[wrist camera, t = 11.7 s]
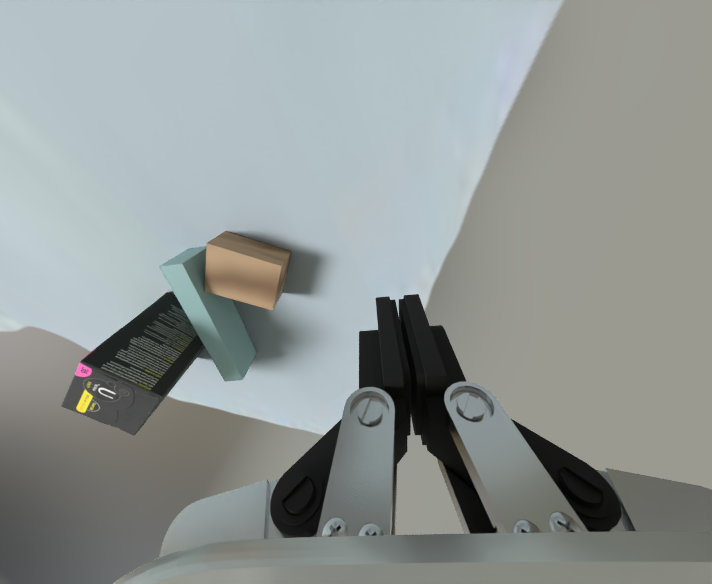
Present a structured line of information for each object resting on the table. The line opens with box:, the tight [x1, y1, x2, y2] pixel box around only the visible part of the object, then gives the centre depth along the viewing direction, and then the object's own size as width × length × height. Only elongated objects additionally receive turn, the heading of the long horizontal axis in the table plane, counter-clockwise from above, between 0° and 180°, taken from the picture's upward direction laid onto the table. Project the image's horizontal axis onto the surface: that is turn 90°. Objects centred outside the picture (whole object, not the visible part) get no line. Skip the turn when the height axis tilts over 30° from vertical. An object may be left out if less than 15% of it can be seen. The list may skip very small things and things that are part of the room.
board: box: [159, 246, 256, 381], centre depth 38 cm, size 20×3×6 cm, turn 8°
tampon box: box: [62, 292, 205, 435], centre depth 37 cm, size 11×9×15 cm
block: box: [205, 231, 291, 311], centre depth 35 cm, size 7×9×5 cm
